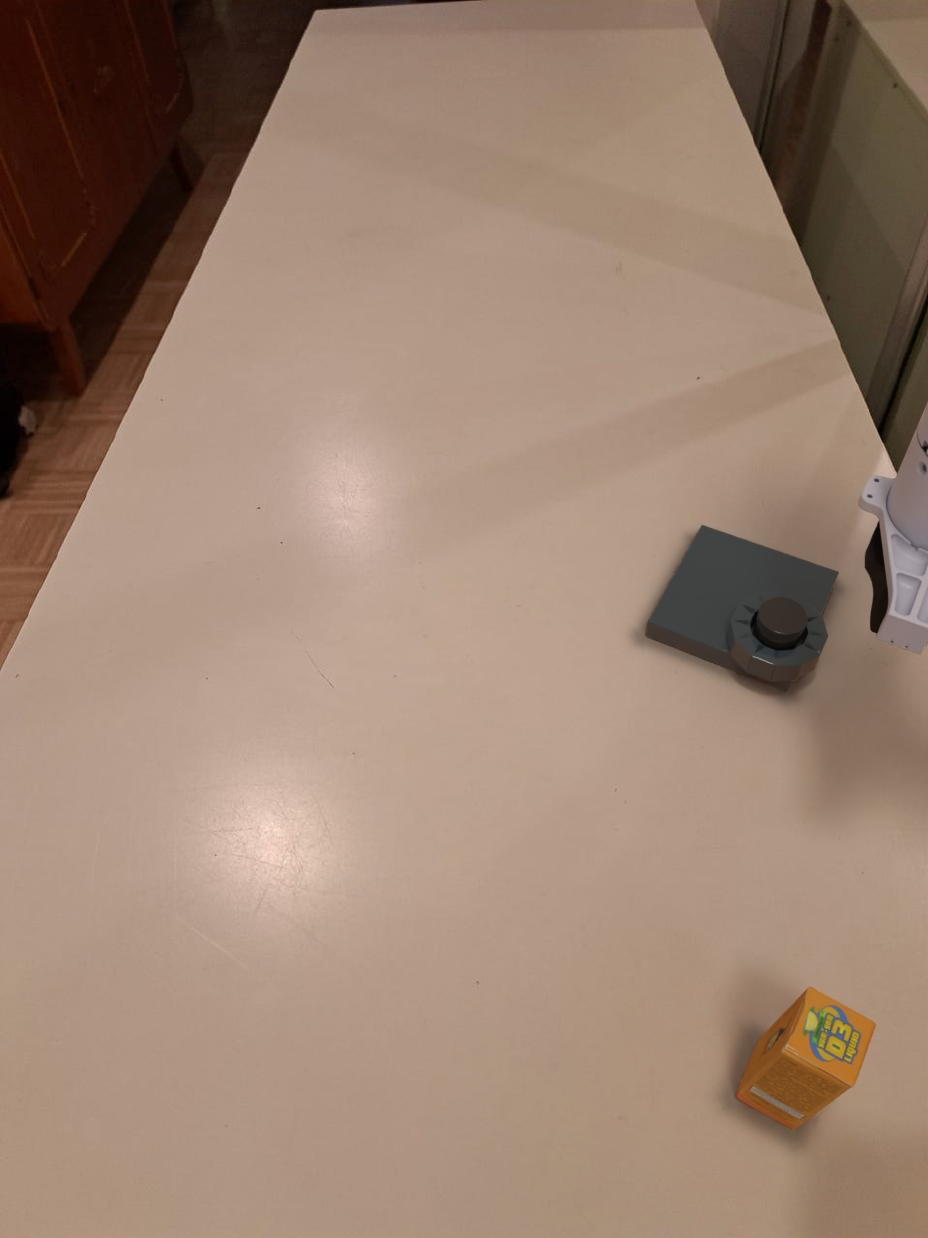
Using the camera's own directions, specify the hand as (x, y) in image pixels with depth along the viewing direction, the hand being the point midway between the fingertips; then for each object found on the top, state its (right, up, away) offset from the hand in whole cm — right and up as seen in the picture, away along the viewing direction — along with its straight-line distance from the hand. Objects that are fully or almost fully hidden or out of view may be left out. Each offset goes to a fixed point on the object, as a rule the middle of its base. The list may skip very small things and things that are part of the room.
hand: (891, 628), depth 52 cm
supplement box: (-7, -23, -4) cm, 25 cm away
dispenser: (-4, +1, +14) cm, 15 cm away
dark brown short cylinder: (-3, 0, +9) cm, 10 cm away
